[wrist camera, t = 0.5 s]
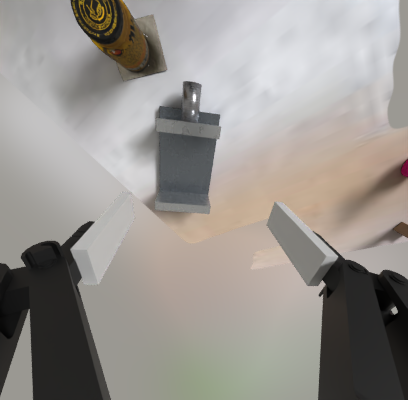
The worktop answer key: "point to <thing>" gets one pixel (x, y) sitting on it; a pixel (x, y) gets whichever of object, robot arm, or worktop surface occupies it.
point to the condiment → (121, 36)
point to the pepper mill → (405, 169)
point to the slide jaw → (189, 116)
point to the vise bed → (185, 167)
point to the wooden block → (402, 229)
